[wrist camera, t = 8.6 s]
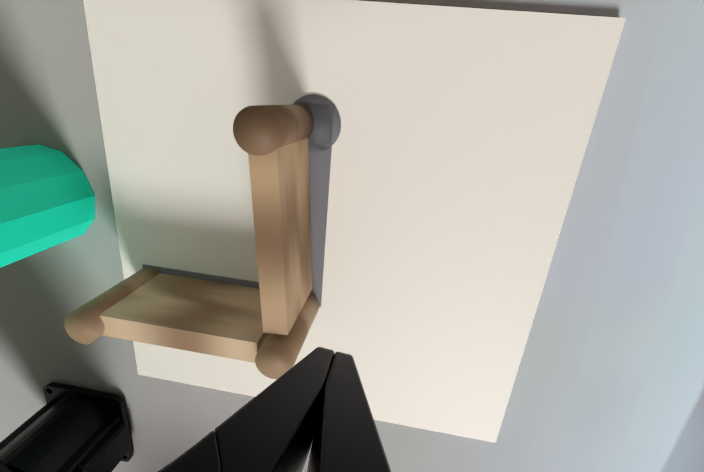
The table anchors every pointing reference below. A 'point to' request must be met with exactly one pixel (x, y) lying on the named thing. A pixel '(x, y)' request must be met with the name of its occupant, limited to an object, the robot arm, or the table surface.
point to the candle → (40, 201)
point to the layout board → (359, 176)
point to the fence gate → (279, 207)
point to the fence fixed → (192, 319)
